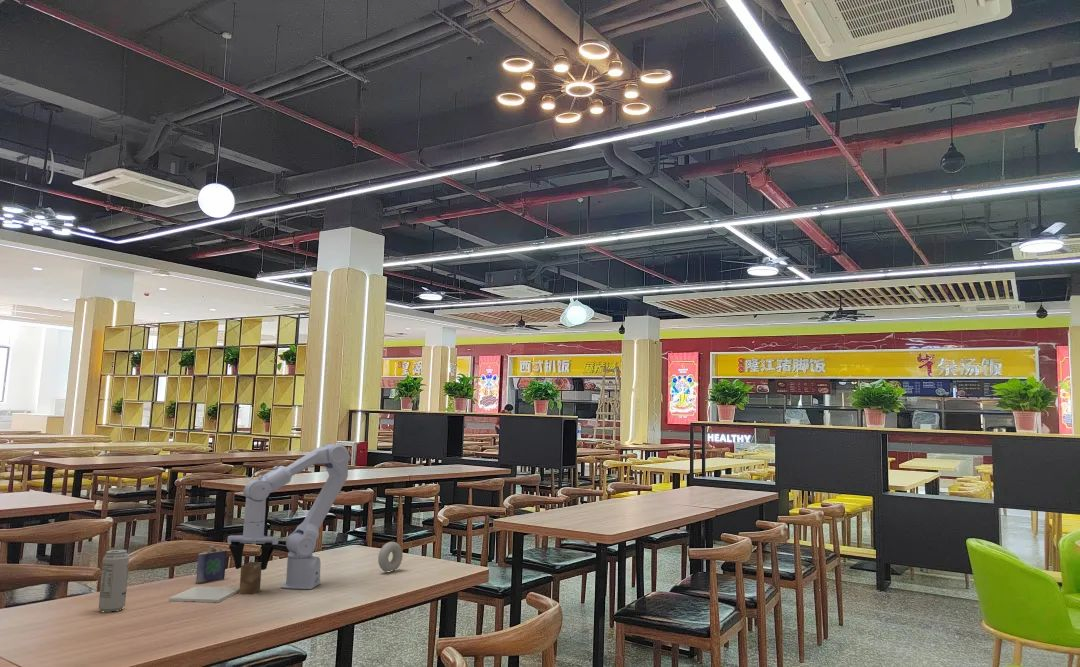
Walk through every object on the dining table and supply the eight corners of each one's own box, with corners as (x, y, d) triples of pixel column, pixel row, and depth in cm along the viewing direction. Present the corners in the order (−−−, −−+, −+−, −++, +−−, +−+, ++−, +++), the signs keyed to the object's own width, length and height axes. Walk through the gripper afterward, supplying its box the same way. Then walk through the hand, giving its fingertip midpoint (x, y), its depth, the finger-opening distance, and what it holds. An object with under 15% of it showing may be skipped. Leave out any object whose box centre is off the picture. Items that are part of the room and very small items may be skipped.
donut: (396, 569, 248) (398, 539, 249) (404, 570, 246) (405, 540, 248) (375, 574, 240) (376, 543, 241) (382, 575, 238) (383, 544, 239)
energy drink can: (127, 610, 190) (132, 551, 191) (101, 614, 185) (107, 554, 187) (121, 606, 194) (126, 548, 196) (95, 609, 190) (100, 550, 192)
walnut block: (260, 590, 215) (261, 562, 216) (251, 594, 209) (252, 566, 210) (248, 589, 215) (250, 561, 216) (239, 594, 209) (241, 565, 210)
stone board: (241, 590, 213) (241, 587, 213) (218, 602, 199) (218, 599, 200) (194, 589, 214) (195, 586, 214) (168, 600, 200) (168, 597, 200)
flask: (198, 584, 220) (201, 548, 222) (193, 583, 222) (196, 547, 223) (226, 579, 228) (228, 544, 229) (221, 578, 230) (223, 543, 231)
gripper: (223, 522, 211) (220, 570, 209) (272, 524, 210) (269, 572, 209) (235, 519, 218) (231, 565, 216) (282, 520, 217) (279, 567, 216)
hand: (251, 568), depth 213 cm, fingers open, 7 cm apart
